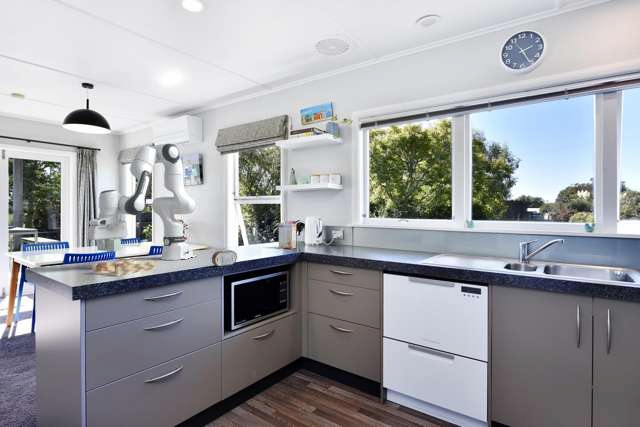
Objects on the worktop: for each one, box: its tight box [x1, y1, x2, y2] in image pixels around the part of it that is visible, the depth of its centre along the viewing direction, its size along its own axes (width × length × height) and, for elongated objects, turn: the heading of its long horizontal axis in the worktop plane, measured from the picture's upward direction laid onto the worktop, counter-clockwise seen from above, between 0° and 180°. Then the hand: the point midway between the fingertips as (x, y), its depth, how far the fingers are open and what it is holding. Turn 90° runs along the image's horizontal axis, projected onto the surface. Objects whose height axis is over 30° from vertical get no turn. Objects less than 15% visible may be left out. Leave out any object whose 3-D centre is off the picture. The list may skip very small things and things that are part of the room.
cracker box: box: [278, 222, 297, 249], centre depth 281 cm, size 14×6×21 cm, turn 58°
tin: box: [211, 249, 238, 267], centre depth 191 cm, size 15×3×8 cm, turn 141°
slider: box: [96, 238, 122, 253], centre depth 180 cm, size 4×12×6 cm, turn 70°
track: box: [92, 259, 156, 277], centre depth 170 cm, size 22×16×5 cm
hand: (109, 246), depth 180 cm, fingers closed on slider, 4 cm apart
